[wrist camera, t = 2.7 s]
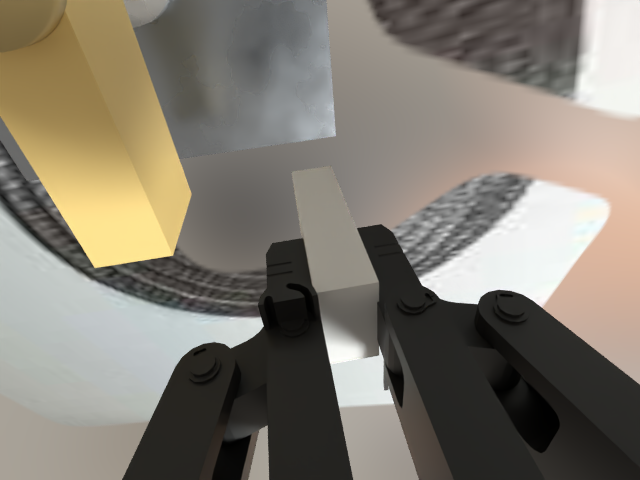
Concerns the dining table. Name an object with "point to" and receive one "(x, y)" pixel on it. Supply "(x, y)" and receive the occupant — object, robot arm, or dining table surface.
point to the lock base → (231, 73)
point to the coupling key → (92, 125)
